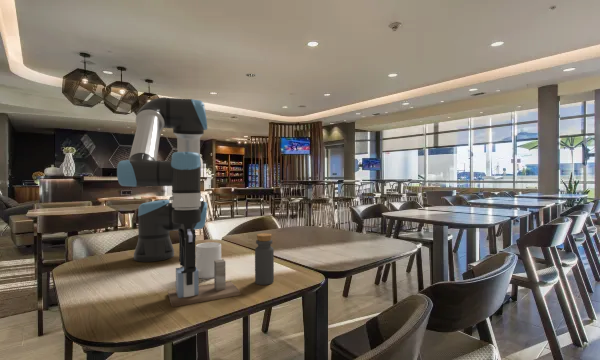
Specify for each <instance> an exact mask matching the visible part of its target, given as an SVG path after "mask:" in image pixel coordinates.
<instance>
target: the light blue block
mask: <svg viewBox="0 0 600 360" xmlns="http://www.w3.org/2000/svg"><path fill="white" fill-rule="evenodd" d="M181 271H184V267H182V268H180V267H175V290H176V293H177V296H178V298H182V297H183V274H182V273H181ZM199 279H200V278H198V269H197V268H196V271H194V295H199V286H200V285H199Z"/></svg>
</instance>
